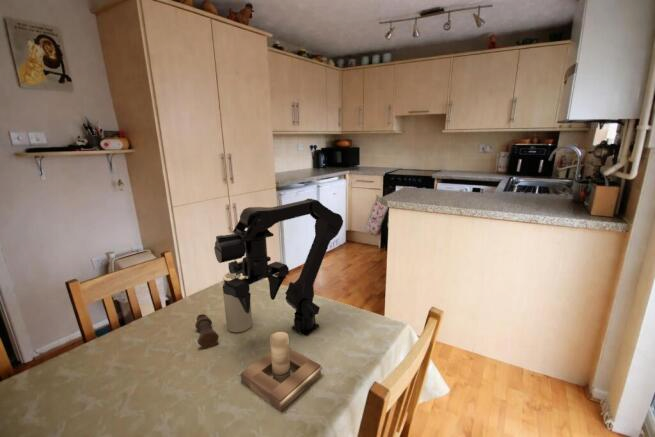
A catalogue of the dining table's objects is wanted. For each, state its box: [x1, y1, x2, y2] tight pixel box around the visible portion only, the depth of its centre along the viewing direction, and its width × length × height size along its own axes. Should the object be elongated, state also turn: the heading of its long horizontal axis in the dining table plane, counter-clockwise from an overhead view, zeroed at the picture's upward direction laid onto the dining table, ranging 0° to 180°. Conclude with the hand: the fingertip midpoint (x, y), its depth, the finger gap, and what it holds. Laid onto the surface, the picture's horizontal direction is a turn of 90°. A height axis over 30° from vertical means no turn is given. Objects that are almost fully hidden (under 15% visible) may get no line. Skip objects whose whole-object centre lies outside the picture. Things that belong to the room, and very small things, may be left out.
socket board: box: [238, 347, 323, 412], centre depth 78 cm, size 14×15×3 cm
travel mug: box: [222, 272, 253, 333], centre depth 99 cm, size 8×8×18 cm
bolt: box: [194, 313, 219, 350], centre depth 97 cm, size 6×5×15 cm
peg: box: [269, 331, 291, 384], centre depth 77 cm, size 4×4×12 cm
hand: (260, 305), depth 88 cm, fingers open, 9 cm apart
